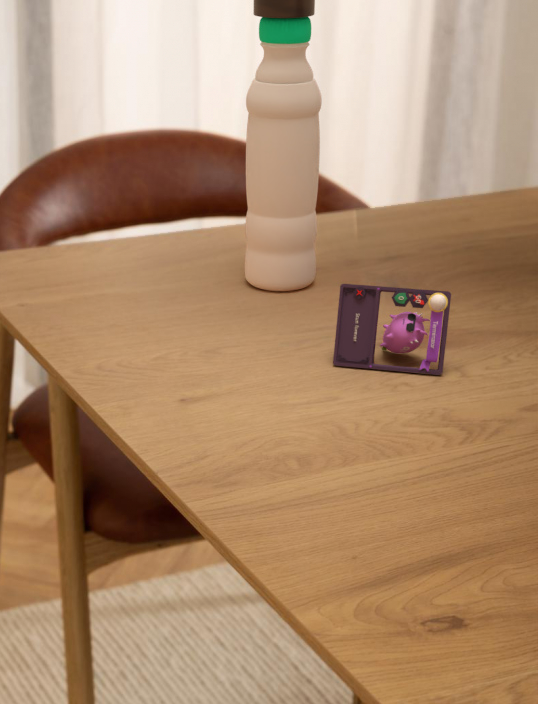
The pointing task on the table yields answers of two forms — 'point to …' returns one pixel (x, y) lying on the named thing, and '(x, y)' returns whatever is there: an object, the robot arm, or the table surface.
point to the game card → (389, 327)
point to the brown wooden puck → (284, 8)
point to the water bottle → (282, 160)
